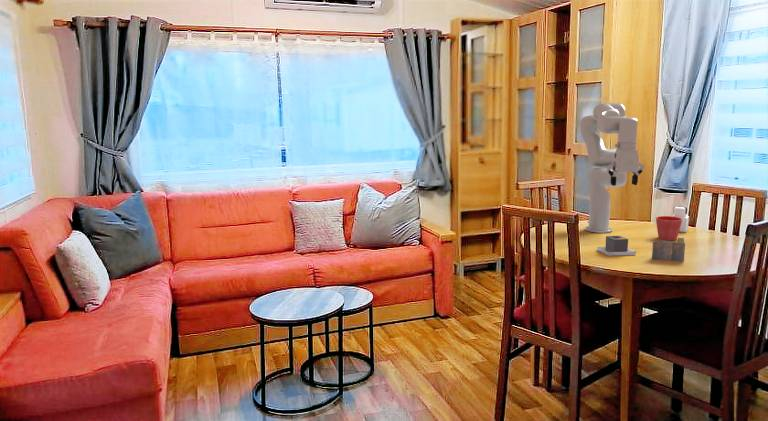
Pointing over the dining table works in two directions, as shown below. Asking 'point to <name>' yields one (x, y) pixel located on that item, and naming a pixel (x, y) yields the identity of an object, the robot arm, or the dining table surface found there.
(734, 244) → the dining table surface
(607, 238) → the gray rectangular sleeve
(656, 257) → the ruin model on sheet
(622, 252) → the post
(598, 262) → the dining table surface
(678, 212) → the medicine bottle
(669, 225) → the flower pot
